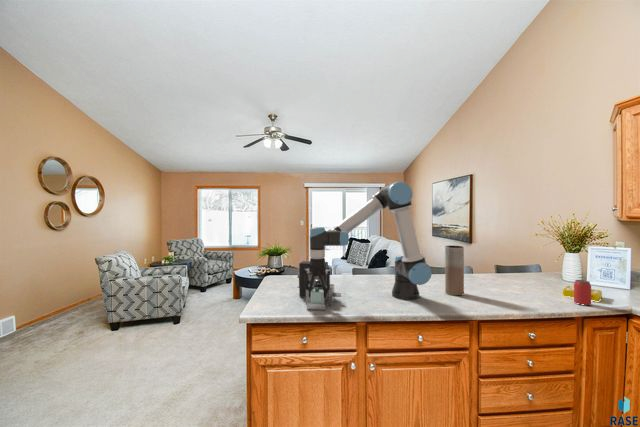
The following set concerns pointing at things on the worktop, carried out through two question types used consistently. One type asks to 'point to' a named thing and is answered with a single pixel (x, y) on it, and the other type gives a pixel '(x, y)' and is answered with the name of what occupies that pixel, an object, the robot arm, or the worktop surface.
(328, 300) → the motor
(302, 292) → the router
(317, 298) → the block
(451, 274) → the vase
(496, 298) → the worktop surface
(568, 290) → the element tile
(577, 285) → the beer can
